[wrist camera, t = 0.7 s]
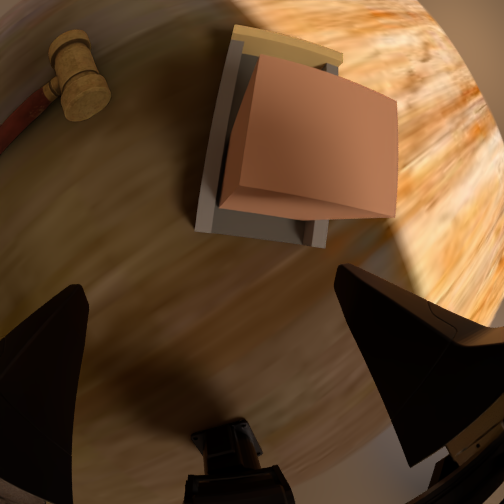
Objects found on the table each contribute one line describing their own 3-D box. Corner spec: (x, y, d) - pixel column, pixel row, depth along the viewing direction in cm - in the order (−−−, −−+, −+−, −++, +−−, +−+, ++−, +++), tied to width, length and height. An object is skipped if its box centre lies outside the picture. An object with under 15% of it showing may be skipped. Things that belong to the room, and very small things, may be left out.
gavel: (-39, 221, 15) (-49, 150, 13) (-14, 219, 19) (-28, 154, 17) (101, 80, 16) (78, 21, 14) (118, 101, 20) (93, 43, 18)
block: (302, 220, 23) (395, 217, 11) (218, 208, 21) (239, 185, 10) (309, 153, 22) (396, 101, 10) (229, 137, 21) (260, 53, 9)
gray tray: (310, 245, 24) (330, 249, 20) (195, 230, 22) (194, 231, 18) (325, 71, 23) (342, 53, 19) (229, 48, 21) (234, 24, 17)
